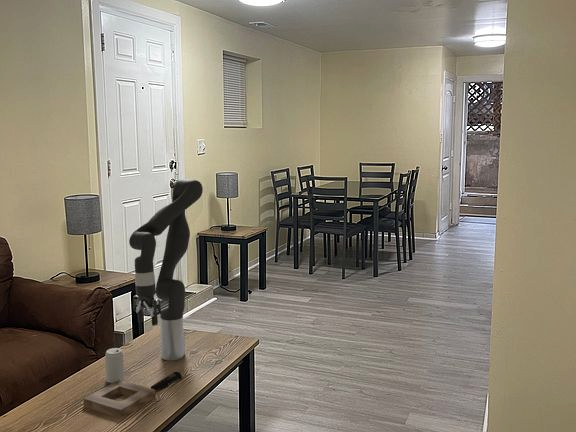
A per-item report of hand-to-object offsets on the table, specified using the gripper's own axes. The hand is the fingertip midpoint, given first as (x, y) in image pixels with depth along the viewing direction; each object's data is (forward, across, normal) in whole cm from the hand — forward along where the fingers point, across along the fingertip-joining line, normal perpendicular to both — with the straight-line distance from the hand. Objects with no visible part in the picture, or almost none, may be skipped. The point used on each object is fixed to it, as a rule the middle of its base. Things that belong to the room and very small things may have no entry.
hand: (147, 323), depth 225 cm
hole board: (+20, -14, +24) cm, 34 cm away
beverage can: (+19, +2, +15) cm, 24 cm away
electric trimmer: (+20, -15, +4) cm, 26 cm away
